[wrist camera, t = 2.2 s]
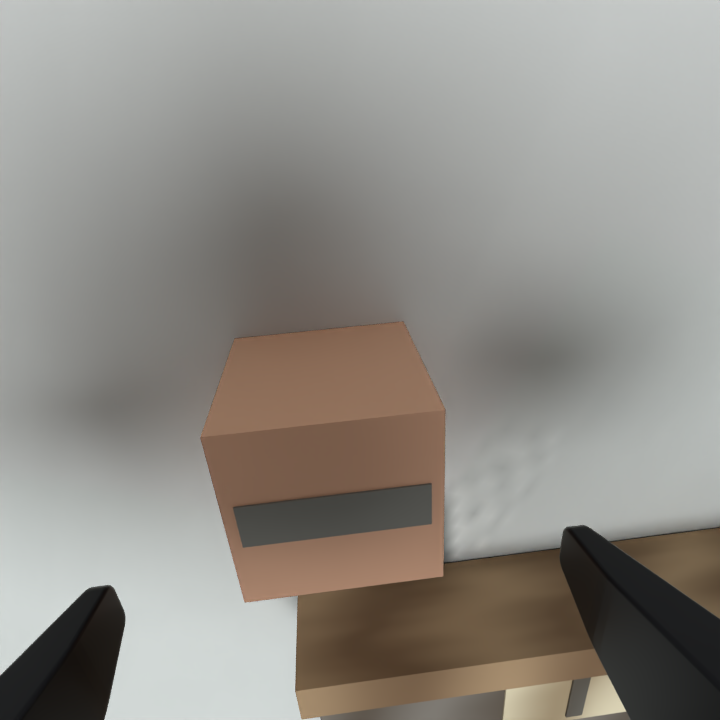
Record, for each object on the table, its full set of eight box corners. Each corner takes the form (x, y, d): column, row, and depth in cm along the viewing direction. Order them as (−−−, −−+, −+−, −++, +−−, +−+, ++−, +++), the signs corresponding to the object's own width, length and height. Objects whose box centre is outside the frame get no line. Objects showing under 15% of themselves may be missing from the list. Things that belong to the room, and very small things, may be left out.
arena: (782, 519, 20) (887, 607, 16) (694, 720, 26) (754, 814, 23) (298, 582, 19) (295, 691, 15) (334, 775, 25) (338, 882, 22)
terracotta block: (402, 320, 14) (446, 410, 10) (407, 454, 17) (444, 577, 12) (234, 337, 14) (199, 438, 10) (262, 471, 16) (244, 604, 12)
